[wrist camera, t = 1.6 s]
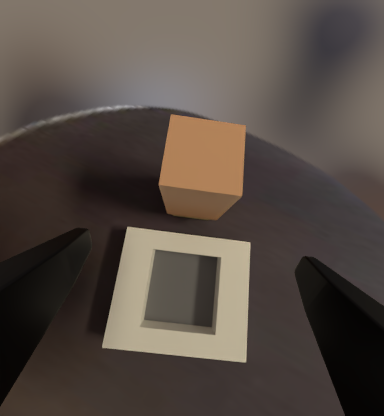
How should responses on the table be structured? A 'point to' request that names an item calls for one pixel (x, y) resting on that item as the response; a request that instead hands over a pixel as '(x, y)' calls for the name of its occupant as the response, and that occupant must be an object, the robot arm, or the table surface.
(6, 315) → the robot arm
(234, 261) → the socket
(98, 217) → the table surface
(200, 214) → the plug
